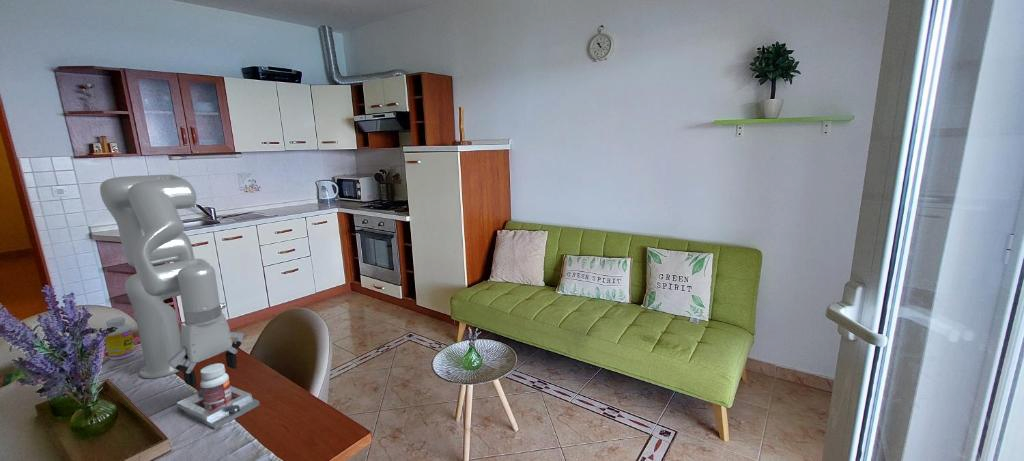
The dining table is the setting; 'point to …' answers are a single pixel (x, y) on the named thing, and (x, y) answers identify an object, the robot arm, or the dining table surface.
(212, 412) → the slotted white bracket
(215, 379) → the pill bottle
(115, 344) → the supplement bottle
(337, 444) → the dining table surface
